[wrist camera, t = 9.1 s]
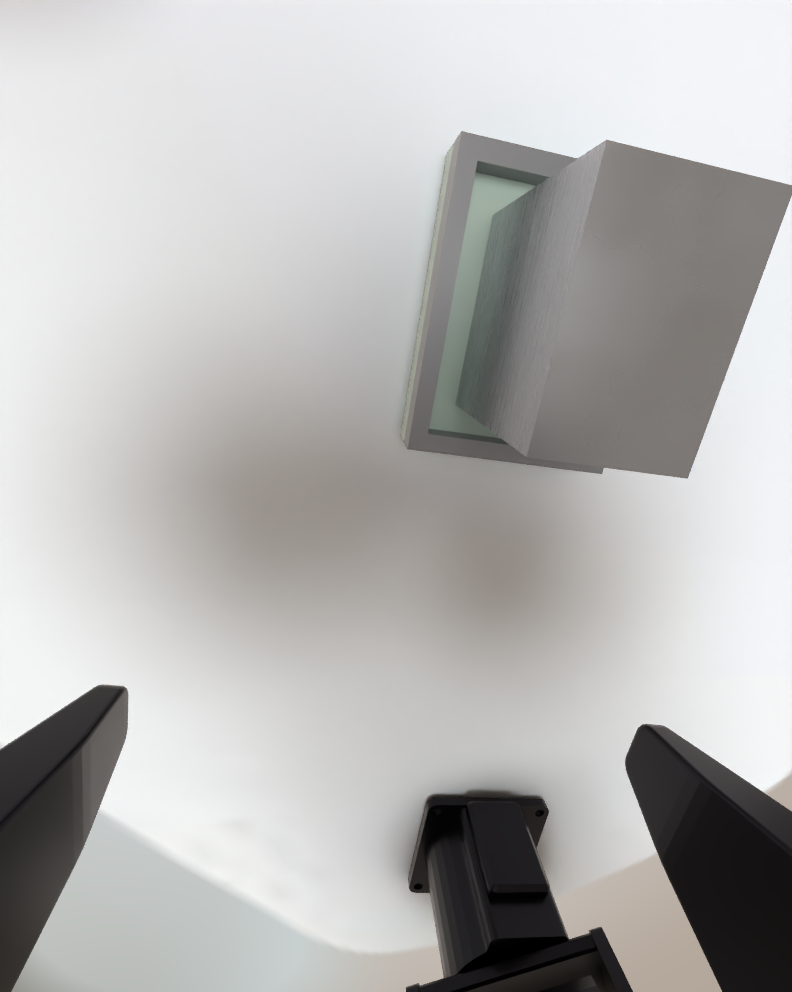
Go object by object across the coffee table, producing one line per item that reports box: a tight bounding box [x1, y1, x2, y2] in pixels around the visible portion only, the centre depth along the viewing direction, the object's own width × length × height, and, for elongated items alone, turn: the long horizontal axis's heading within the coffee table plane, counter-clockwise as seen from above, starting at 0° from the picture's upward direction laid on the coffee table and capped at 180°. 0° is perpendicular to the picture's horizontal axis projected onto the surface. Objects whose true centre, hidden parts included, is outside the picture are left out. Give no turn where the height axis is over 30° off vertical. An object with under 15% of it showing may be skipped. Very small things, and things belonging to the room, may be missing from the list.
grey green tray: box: [401, 131, 604, 474], centre depth 17 cm, size 9×7×2 cm
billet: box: [455, 140, 792, 478], centre depth 13 cm, size 6×4×7 cm, turn 171°
